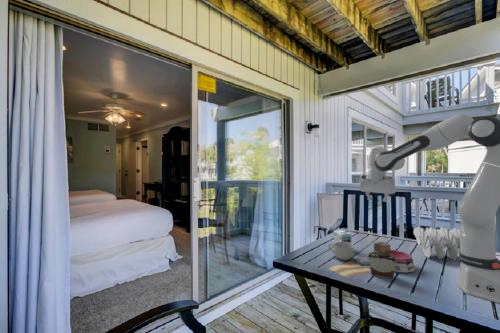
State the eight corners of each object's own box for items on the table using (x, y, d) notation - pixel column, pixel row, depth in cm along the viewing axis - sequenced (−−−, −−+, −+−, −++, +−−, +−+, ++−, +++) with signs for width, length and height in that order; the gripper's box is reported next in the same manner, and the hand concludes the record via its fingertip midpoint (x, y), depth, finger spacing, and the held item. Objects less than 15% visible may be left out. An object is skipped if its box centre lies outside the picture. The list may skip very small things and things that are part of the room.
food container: (397, 275, 118) (397, 254, 118) (397, 280, 113) (396, 258, 113) (369, 269, 125) (369, 250, 125) (367, 274, 120) (367, 253, 120)
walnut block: (390, 254, 118) (390, 244, 118) (383, 256, 116) (383, 245, 116) (380, 251, 122) (380, 241, 122) (374, 253, 120) (373, 243, 120)
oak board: (373, 272, 124) (373, 270, 124) (347, 279, 116) (347, 278, 116) (350, 263, 136) (350, 261, 136) (326, 269, 128) (326, 267, 128)
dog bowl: (388, 258, 142) (387, 246, 142) (423, 269, 125) (423, 255, 125) (367, 264, 133) (366, 251, 133) (401, 277, 117) (401, 262, 117)
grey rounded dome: (376, 262, 134) (376, 260, 134) (368, 266, 129) (368, 264, 129) (361, 258, 141) (361, 256, 142) (352, 261, 136) (352, 259, 136)
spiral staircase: (473, 270, 133) (421, 264, 138) (456, 246, 148) (410, 242, 154) (484, 243, 125) (428, 238, 131) (465, 222, 140) (416, 218, 146)
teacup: (356, 258, 142) (356, 244, 142) (349, 263, 134) (349, 248, 134) (333, 252, 151) (333, 239, 151) (325, 257, 143) (325, 243, 143)
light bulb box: (352, 251, 153) (351, 234, 153) (342, 252, 152) (341, 234, 152) (343, 246, 164) (342, 229, 164) (333, 246, 163) (333, 230, 163)
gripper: (398, 176, 131) (398, 202, 131) (365, 175, 150) (365, 198, 150) (390, 176, 129) (391, 203, 128) (357, 176, 147) (358, 199, 147)
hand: (377, 200), depth 139 cm, fingers open, 8 cm apart
